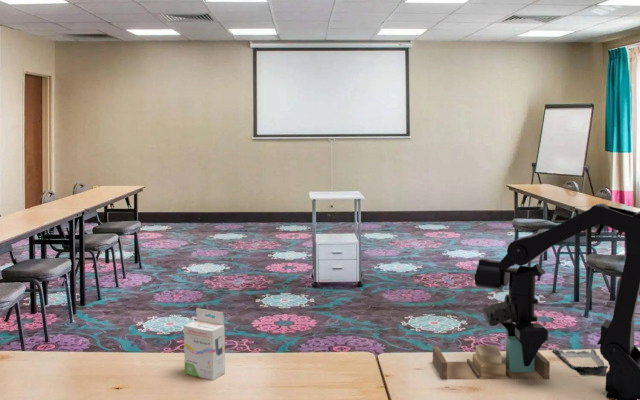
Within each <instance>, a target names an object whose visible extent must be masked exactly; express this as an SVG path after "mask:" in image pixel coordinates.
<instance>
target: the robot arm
mask: <svg viewBox="0 0 640 400" xmlns="http://www.w3.org/2000/svg"><path fill="white" fill-rule="evenodd" d="M597 225H602V226H605V227H607V228H610V229H613V230H615V231H619V232H621V233H625V235H624V236H625V237H624V238H625V239H624V240H625V241H624V242H625V253H626V254H625V259H624V264H623V270H622V273H621V279H620V284H619V286H618V287H619V288H618V292H617V297H616V301H615V308H614V311H613V316H612V318H611V320H608V319H605V320H604V322H603V323H602V324H601V326H600V337H599V340H598V342H596V344H597V345H598V346H599V352H600V355H601V356H602V358H603V359H604V360H606V361H607V363H608V365H609V366H608V369H607V373H606V376H605V388H604V389H605V392H606V394H605V397H606V398H607V399H610V400H615V399H617V400H637V399H640V349H639V348H638V347H637V346H636V345H635V323H634V321H635V319H634V318H635V314H636V310H637V305H638V300H639V295H640V211H637V212H636V211H632V210H628V209H624V208H620V207H615V206H612V205H608V204H605V203H596V204H595V205H592V206H591V207H590V208H589V209H586V210H585V211H582V212H580V213H579V214H577V215H575V216H573V217H571V218H569V219H567V220H565V221H563V222H561V223H559V224H557V225H555V226H553V227H551V228H548V229H547V230H543V231H541V232H537V233H536V232H535V233H533V234H530V235H526V236H523V237H519V238H518V239H515V240H513V241H512V242H510V243H509V244H508V246H507V250H506V254H505V256H504V257H503V258H502V259H501V260H493V259H487V258H480V259H479V260H478V265H477V267H476V269H475V270H476V271H475V274H474V283H475V287H477V288H484V289H491V290H498V291H502V290H503V289H504V287H507V286H508V294H505V296H504V301H502V302H501V301H500V302H498V303H497V302H496V303H494V304H491V305H489V306H485V307H484V308H482V313H483V316H484V318H485V321H486V323H487V324H488V325H489V326H490V327H496V326H498V324H501V325H502V326H503V327H504V328H505V331H506V335H507V336H516V337H515V338H516V339H517V340H518V341H519V342H520V343H521V347H522V356H523V363H524V366H530V364H531V362H532V360H533V359H534V357H535V355H536V353H537V352H539V350H540V348H541V347H542V345H543V344H545V343H546V342H547V341H549V330H547V328H546V327H544V326H543V325H542V324H541V323H539V322H538V317H537V316H536V315H535V310H536V309H535V305H539V304H538V303H539V301H538V300H539V299H538V298H536V277H542V276H543V275H544V274H546V271H545V270H544V269H543V268H542V267H541V266H540V264H539V263H535V264H534V265H533V266H528V265H527V264H529V263H530V262H532V261H534V260H535V259H537V258H538V257H540V256H541V255H543V253H545V252H546V251H548V250H549V249H550V248H552V247H553V246H556V245H557V244H559V243H561V242H563V241H565V240H568V239H570V238H572V237H574V236H576V235H578V234H580V233H582V232H584V231H586V230H589V229H591V228H593V227H594V226H597ZM515 265H517V266H518V267H517V268H514V267H513V266H515Z"/></svg>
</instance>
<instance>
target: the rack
mask: <svg viewBox="0 0 640 400" xmlns="http://www.w3.org/2000/svg"><path fill="white" fill-rule="evenodd" d="M502 362H503V363H504V364H505V366H506V361H502ZM550 363H551V362H550V361H549V360H548V359H547V358H546V357H545V356H544V355H543V354H542V353H541V352H539V351H538V352H537V353H536V355H535V357H534V372H510V371H509V370H508V369H507V368H506V377H481V375H480V374H479V373H478V371H477V370H476V368H475V367H474V365H473V361H472V360H470V358H466V361H447V360H446V358H445V356H444V354H443V353H442V351H441V349H440V347H439V346H437V345H436V346H435V345H433V346H432V364H433V365H434V367H435V370H436V371H437V373H438V376H439V378H440V379H441V380H550V370H551V369H550V368H551V367H550V366H551V364H550Z"/></svg>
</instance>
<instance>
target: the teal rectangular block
mask: <svg viewBox="0 0 640 400" xmlns="http://www.w3.org/2000/svg"><path fill="white" fill-rule="evenodd" d="M505 337H506V338H505V340H506V341H505V342H506V343H505V362H506V368H507V369H508V370H509V371H510V372H534V359H533V360H532V362H531V364H530V366H524V363H523V356H522V347H521V343H520V342H519V341H518V340H517V339H516V338H515V337H516V336H505Z"/></svg>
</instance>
